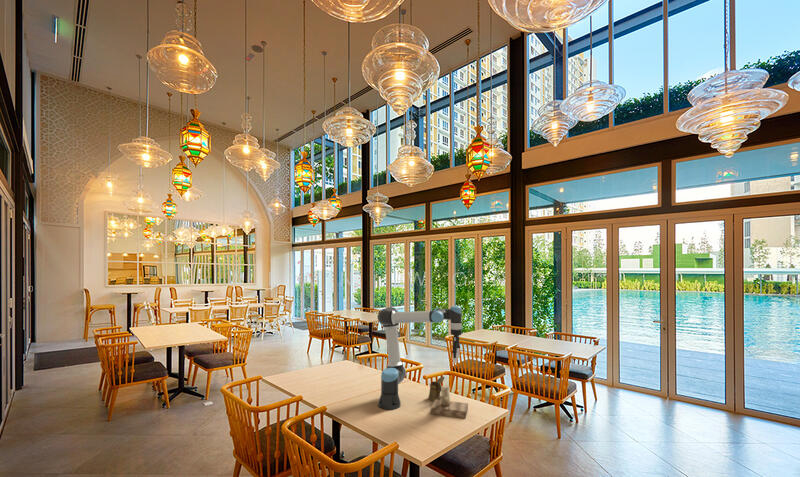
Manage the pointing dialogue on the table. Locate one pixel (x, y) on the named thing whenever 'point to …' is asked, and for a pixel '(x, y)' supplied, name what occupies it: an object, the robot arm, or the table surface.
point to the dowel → (445, 396)
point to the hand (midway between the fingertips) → (456, 360)
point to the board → (450, 409)
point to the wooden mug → (435, 390)
